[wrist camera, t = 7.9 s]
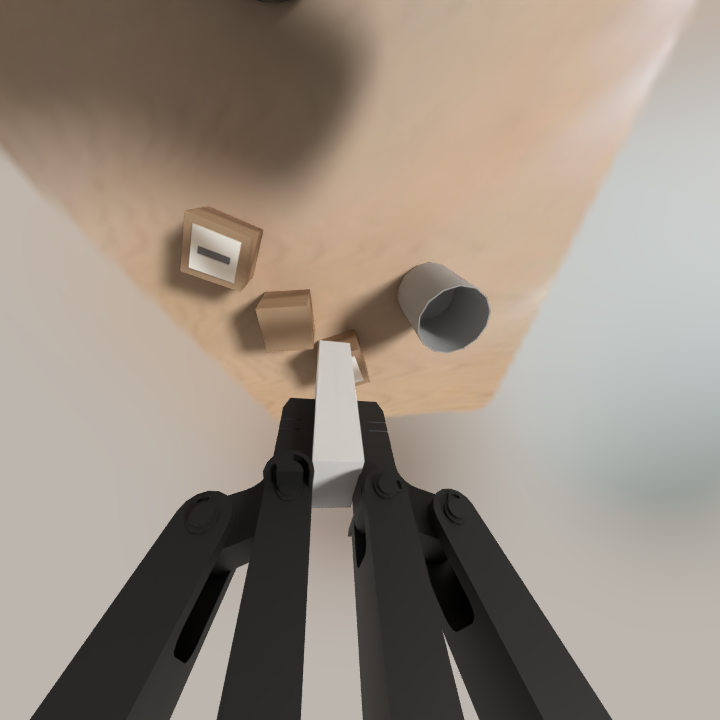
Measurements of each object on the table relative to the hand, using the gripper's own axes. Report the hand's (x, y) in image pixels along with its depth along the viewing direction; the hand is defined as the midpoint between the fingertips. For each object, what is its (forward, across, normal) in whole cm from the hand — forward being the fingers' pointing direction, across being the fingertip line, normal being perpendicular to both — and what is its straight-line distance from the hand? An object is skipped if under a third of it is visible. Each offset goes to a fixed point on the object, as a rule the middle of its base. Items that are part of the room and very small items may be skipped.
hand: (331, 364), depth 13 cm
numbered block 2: (+24, +3, -15) cm, 28 cm away
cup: (+24, +14, -3) cm, 28 cm away
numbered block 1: (+24, -12, -1) cm, 27 cm away
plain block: (+24, -5, -9) cm, 26 cm away
